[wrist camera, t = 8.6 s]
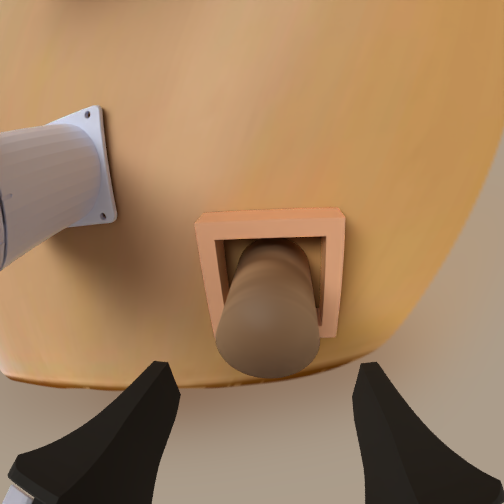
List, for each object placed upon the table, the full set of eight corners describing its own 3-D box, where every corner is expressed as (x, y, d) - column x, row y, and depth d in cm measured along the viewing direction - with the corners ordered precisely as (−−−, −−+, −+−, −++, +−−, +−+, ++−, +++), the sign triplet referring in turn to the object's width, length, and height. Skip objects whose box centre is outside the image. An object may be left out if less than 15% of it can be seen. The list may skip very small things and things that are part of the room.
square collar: (220, 320, 20) (214, 338, 18) (203, 212, 17) (194, 223, 15) (332, 318, 19) (335, 337, 17) (338, 207, 16) (345, 217, 14)
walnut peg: (241, 299, 19) (222, 376, 13) (235, 237, 18) (208, 301, 11) (308, 298, 19) (315, 377, 12) (309, 235, 17) (323, 300, 11)
